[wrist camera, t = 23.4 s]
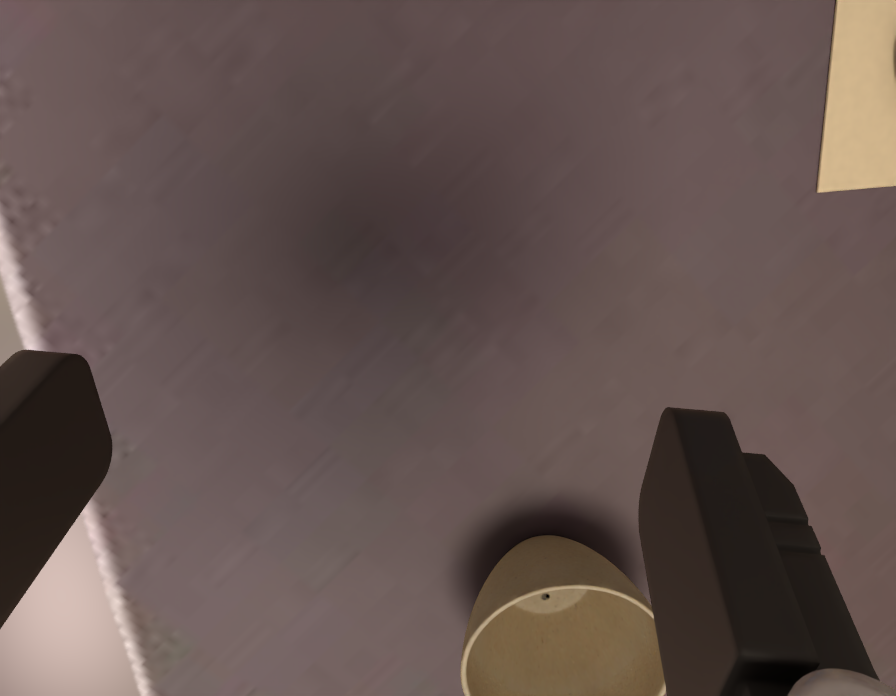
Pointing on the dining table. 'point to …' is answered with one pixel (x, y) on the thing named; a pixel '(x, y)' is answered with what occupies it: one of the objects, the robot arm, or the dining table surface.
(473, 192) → the dining table surface
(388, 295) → the dining table surface
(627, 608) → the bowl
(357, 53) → the dining table surface
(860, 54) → the placemat
